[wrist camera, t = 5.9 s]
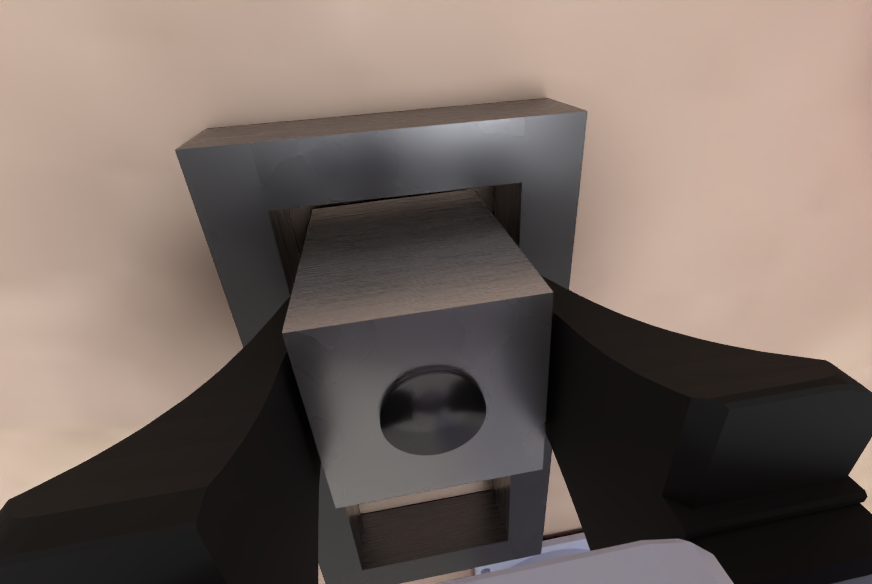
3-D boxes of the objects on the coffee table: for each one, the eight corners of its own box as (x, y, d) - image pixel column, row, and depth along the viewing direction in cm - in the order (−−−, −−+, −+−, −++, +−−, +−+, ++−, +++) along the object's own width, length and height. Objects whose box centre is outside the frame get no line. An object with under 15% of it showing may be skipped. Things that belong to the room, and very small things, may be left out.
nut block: (478, 320, 15) (545, 474, 10) (342, 341, 15) (335, 514, 9) (473, 188, 13) (556, 296, 7) (312, 209, 12) (280, 338, 7)
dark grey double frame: (522, 504, 21) (541, 554, 19) (332, 541, 20) (330, 597, 18) (548, 98, 12) (587, 111, 10) (206, 128, 11) (175, 149, 9)
